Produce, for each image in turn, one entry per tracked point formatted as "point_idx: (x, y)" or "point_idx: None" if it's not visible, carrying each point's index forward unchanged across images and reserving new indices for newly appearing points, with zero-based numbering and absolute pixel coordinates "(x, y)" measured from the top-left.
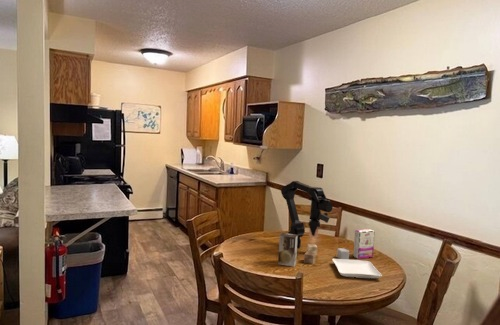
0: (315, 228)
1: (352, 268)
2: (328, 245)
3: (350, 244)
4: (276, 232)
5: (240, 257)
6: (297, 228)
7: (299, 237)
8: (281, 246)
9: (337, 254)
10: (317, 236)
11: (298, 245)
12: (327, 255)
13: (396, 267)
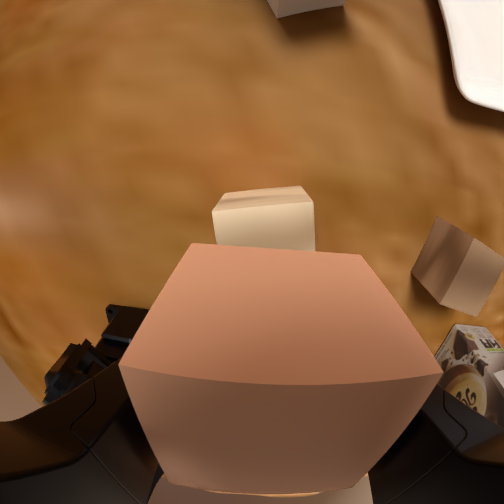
0: (478, 439)
1: (484, 18)
2: (30, 102)
3: (10, 3)
4: (15, 370)
5: None
6: (157, 472)
7: (114, 361)
8: None
9: (284, 7)
10: (367, 268)
11: None
12: (271, 88)
13: None
